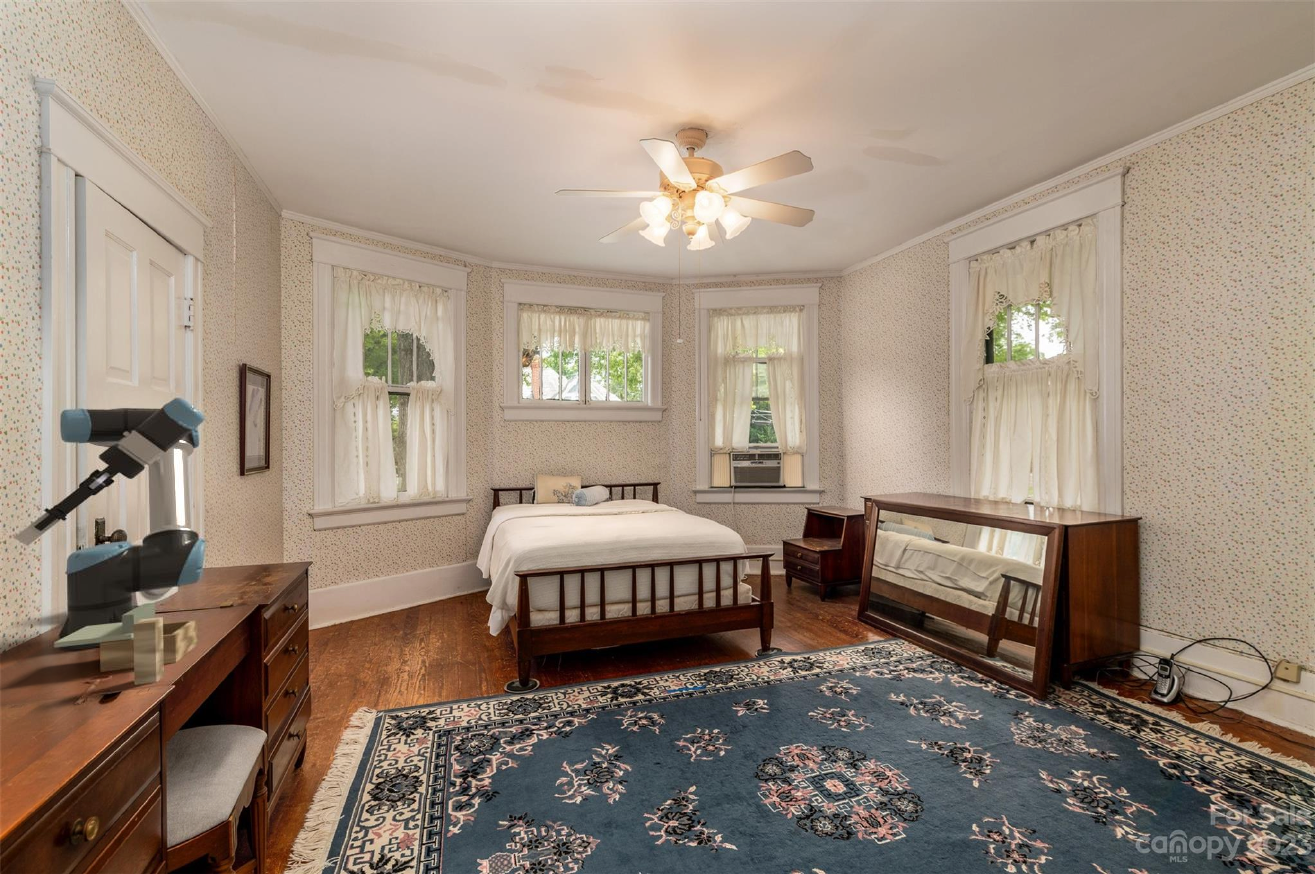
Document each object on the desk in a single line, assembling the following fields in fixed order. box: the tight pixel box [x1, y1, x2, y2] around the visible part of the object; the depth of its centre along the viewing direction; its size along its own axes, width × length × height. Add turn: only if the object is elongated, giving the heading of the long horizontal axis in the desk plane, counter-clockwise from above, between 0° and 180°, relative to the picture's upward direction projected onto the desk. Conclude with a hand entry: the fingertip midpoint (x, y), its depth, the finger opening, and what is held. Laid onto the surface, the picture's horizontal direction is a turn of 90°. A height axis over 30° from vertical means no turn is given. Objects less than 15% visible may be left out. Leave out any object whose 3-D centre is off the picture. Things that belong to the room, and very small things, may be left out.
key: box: [74, 674, 113, 705], centre depth 115 cm, size 6×1×15 cm
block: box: [133, 616, 165, 686], centre depth 118 cm, size 4×4×12 cm
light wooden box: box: [99, 619, 198, 673], centre depth 131 cm, size 12×13×6 cm
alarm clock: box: [131, 538, 179, 609], centre depth 175 cm, size 18×8×20 cm, turn 6°
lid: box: [53, 603, 156, 648], centre depth 129 cm, size 12×13×5 cm
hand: (21, 541), depth 118 cm, fingers closed
